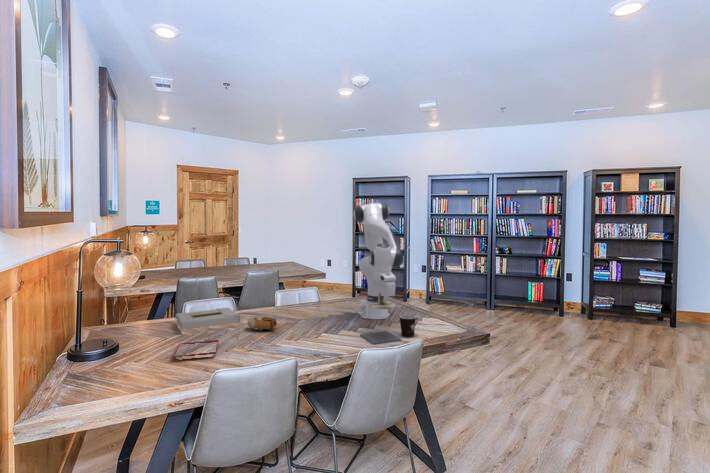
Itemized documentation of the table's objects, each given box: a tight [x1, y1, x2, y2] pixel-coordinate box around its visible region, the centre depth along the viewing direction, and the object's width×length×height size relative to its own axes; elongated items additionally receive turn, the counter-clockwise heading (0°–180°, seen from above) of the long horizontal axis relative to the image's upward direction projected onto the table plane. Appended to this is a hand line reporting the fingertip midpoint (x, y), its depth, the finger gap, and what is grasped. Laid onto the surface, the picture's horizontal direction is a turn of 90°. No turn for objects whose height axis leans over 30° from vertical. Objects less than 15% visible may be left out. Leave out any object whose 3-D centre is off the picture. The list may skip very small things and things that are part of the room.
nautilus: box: [246, 314, 280, 333], centre depth 217 cm, size 8×22×15 cm
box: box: [174, 306, 241, 330], centre depth 227 cm, size 23×8×32 cm
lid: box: [370, 296, 396, 310], centre depth 203 cm, size 13×13×5 cm
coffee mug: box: [399, 314, 419, 338], centre depth 208 cm, size 12×9×10 cm
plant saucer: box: [173, 339, 220, 358], centre depth 180 cm, size 18×18×3 cm
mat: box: [359, 330, 402, 345], centre depth 203 cm, size 16×16×1 cm
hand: (382, 301), depth 203 cm, fingers closed on lid, 3 cm apart
